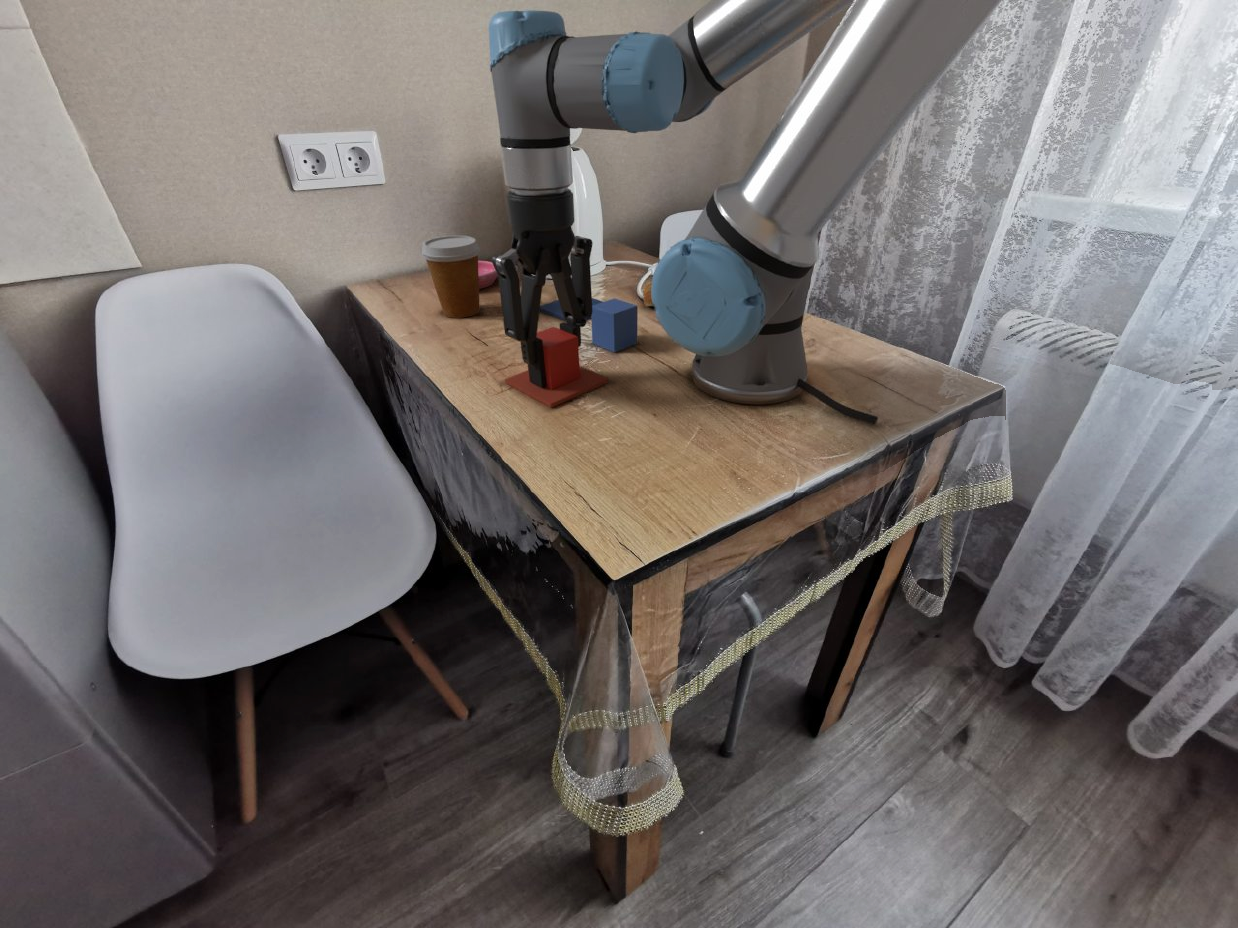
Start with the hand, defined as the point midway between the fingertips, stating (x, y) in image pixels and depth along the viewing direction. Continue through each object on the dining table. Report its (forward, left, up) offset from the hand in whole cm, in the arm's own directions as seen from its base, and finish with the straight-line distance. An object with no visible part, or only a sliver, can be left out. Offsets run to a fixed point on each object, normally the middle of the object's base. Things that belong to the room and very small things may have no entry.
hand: (554, 376), depth 76 cm
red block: (0, 0, 0) cm, 0 cm away
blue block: (+4, -15, -1) cm, 16 cm away
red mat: (0, 0, -1) cm, 1 cm away
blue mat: (+20, -21, -1) cm, 29 cm away
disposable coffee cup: (+34, -6, -1) cm, 34 cm away
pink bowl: (+47, -16, -1) cm, 50 cm away
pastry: (+12, -35, -1) cm, 37 cm away
